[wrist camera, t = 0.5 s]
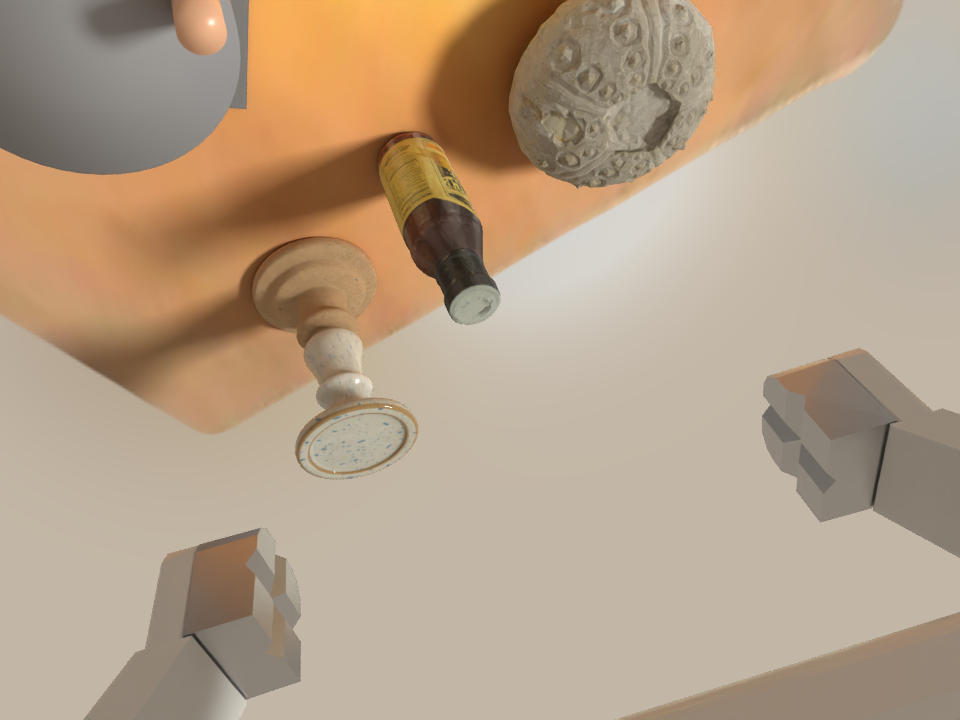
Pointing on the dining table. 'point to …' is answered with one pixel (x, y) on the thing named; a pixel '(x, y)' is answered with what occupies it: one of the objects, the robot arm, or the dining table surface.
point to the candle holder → (333, 355)
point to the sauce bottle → (438, 224)
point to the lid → (114, 80)
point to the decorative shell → (612, 88)
